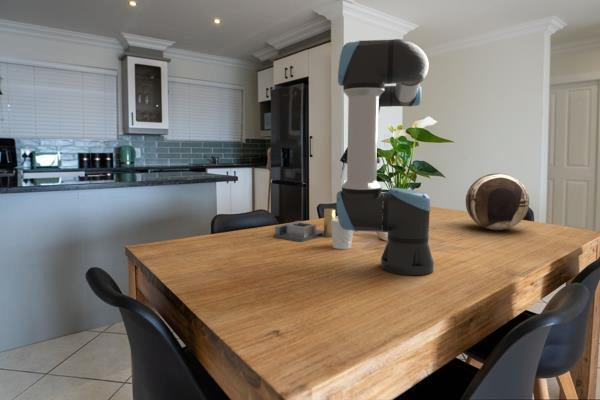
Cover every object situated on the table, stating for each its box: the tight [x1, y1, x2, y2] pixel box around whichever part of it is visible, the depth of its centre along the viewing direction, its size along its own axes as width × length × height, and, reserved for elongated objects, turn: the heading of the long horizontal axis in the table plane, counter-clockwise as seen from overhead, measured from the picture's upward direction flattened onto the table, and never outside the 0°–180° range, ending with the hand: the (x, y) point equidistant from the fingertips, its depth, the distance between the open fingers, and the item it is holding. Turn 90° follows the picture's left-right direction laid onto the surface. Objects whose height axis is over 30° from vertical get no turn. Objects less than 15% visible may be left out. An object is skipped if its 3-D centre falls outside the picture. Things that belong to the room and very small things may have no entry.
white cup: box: [331, 217, 354, 250], centre depth 140 cm, size 8×8×10 cm
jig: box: [273, 220, 324, 243], centre depth 159 cm, size 18×14×5 cm
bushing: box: [323, 208, 337, 238], centre depth 158 cm, size 5×5×11 cm
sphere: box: [465, 172, 530, 231], centre depth 173 cm, size 25×25×25 cm
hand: (354, 179), depth 156 cm, fingers open, 13 cm apart
